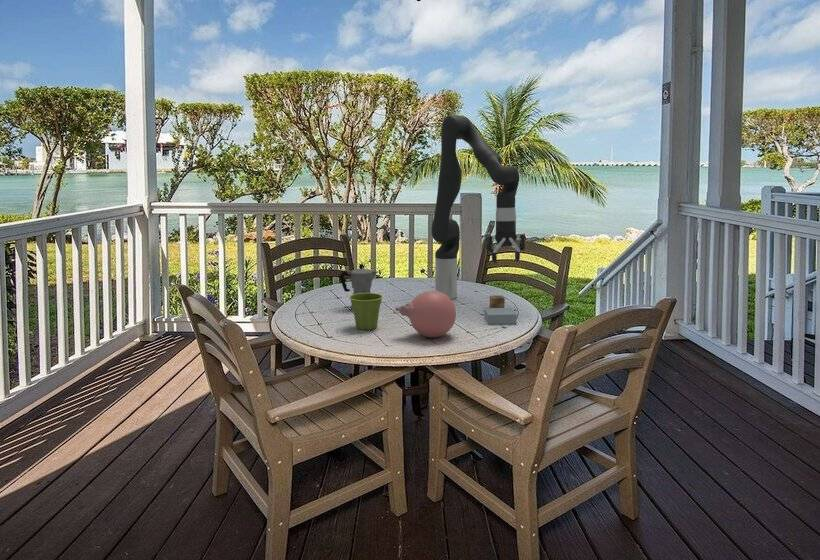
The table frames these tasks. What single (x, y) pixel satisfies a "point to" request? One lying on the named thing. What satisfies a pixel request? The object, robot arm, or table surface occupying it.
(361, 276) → the coffeepot
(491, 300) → the walnut block
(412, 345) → the table surface
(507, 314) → the slate base block
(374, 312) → the plant pot
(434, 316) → the balloon
